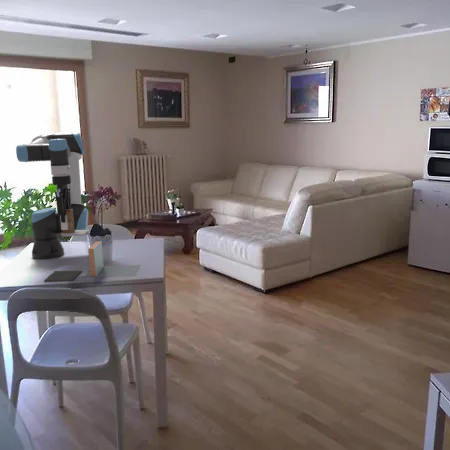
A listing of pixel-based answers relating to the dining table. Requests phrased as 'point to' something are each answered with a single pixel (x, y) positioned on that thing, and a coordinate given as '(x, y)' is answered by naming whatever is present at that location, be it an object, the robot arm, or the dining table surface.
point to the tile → (96, 258)
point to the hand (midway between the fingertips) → (66, 228)
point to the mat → (116, 271)
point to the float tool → (72, 226)
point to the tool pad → (62, 276)
